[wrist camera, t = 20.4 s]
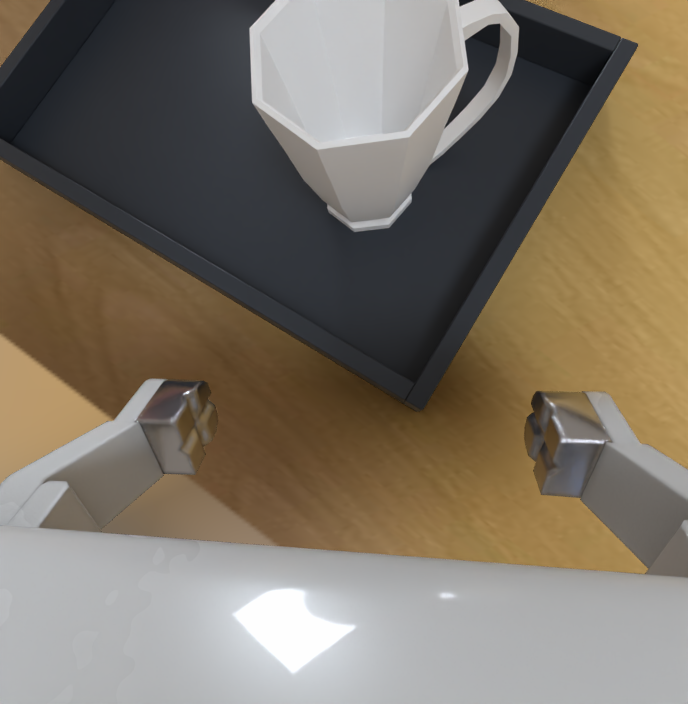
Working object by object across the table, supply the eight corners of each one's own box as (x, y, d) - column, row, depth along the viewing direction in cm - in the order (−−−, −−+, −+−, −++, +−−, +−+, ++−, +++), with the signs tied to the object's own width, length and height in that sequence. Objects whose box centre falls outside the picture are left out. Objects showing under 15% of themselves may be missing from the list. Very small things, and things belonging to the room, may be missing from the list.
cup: (275, 168, 21) (207, 18, 13) (450, 76, 21) (487, -133, 13) (336, 284, 20) (300, 192, 12) (524, 187, 20) (614, 27, 12)
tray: (607, 93, 21) (639, 43, 18) (417, 412, 19) (422, 411, 16) (180, -81, 26) (155, -141, 23) (3, 161, 24) (-47, 128, 21)
